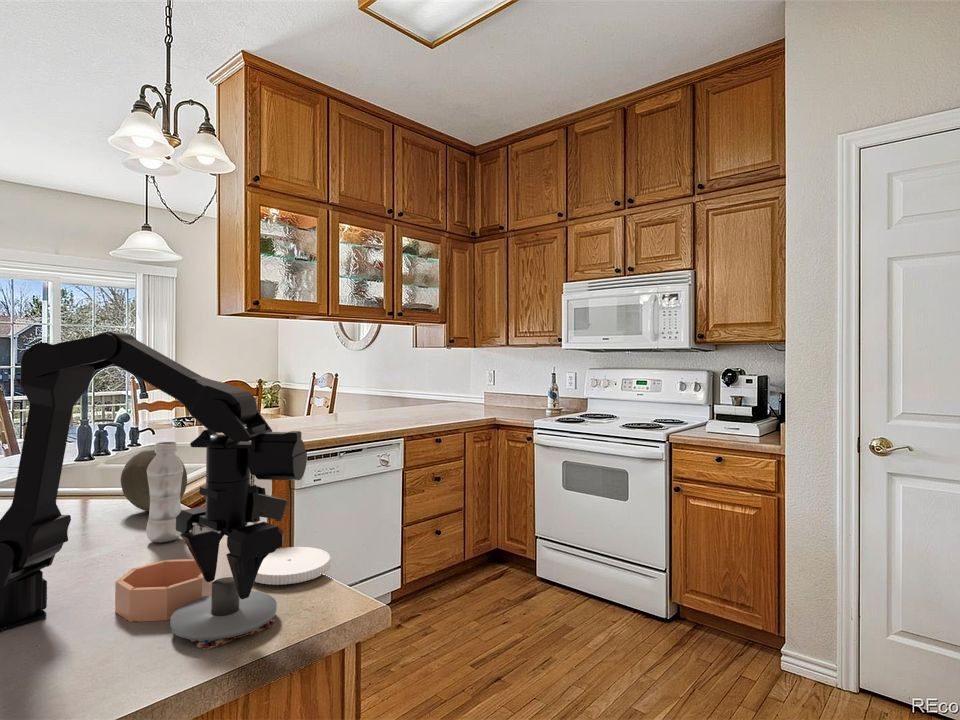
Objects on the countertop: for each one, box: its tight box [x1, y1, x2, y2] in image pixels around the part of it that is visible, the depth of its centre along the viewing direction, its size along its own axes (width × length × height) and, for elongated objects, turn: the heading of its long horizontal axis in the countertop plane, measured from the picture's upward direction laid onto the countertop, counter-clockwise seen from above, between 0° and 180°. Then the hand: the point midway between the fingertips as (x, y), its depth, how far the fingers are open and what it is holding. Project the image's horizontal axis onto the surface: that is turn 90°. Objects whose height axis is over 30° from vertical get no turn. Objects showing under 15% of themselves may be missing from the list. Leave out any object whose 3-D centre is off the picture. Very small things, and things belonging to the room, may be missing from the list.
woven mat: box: [189, 617, 277, 651], centre depth 79 cm, size 10×11×2 cm
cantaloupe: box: [120, 449, 188, 512], centre depth 135 cm, size 14×14×15 cm
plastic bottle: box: [145, 441, 183, 543], centre depth 114 cm, size 6×7×20 cm
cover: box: [169, 576, 278, 641], centre depth 79 cm, size 14×14×5 cm
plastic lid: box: [254, 546, 331, 586], centre depth 99 cm, size 14×14×2 cm
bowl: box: [114, 558, 214, 623], centre depth 86 cm, size 12×12×4 cm
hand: (226, 589), depth 79 cm, fingers open, 9 cm apart
